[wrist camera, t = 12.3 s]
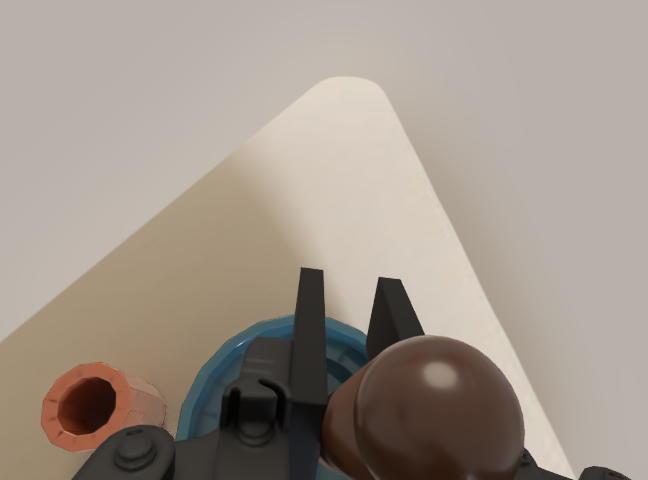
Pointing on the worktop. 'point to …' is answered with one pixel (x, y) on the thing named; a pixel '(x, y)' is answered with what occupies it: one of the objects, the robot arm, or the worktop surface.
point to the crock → (98, 406)
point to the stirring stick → (424, 416)
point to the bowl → (226, 364)
